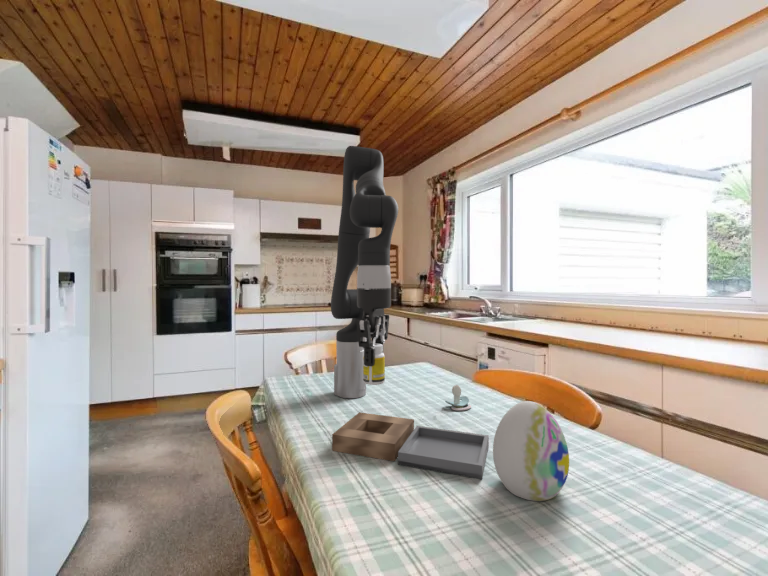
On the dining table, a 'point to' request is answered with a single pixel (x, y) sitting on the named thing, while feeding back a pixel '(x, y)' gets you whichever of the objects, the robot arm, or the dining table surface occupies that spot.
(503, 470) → the decorative egg
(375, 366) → the supplement bottle
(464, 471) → the charcoal tray
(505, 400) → the dining table surface
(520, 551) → the dining table surface
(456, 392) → the pacifier
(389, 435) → the walnut holder
